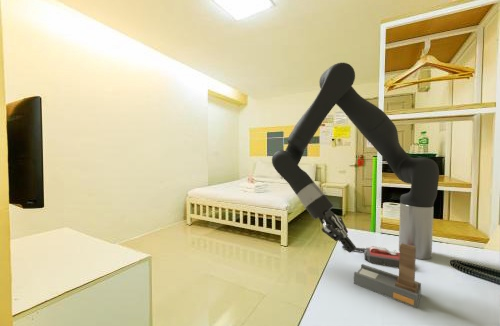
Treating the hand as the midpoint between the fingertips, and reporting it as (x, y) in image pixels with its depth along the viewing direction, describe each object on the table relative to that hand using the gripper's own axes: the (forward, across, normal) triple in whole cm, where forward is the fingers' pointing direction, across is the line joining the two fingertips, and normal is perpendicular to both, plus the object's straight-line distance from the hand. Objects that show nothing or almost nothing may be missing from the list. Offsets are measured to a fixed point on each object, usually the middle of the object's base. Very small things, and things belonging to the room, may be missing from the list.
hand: (352, 250), depth 63 cm
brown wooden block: (+12, -2, -6) cm, 14 cm away
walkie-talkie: (+8, +16, +2) cm, 18 cm away
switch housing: (+11, -2, -2) cm, 11 cm away
